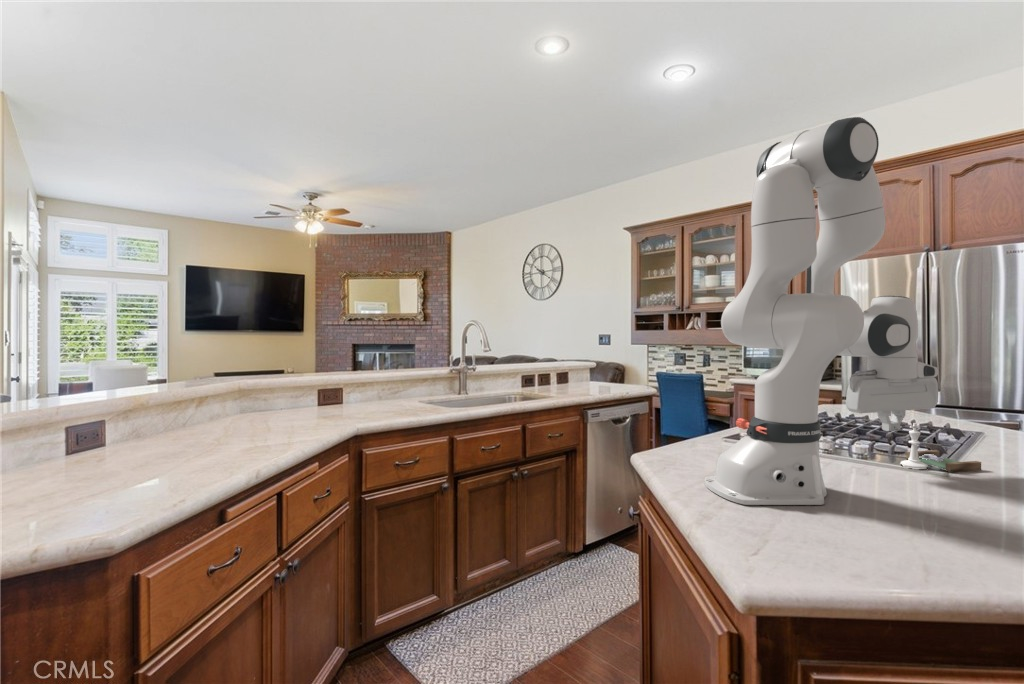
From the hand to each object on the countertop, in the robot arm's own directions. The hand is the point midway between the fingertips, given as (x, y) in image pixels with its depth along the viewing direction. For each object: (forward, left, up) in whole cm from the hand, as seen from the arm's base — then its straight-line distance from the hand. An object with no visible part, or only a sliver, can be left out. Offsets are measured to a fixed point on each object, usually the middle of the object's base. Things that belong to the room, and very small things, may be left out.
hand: (891, 430), depth 108 cm
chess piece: (+6, 0, -9) cm, 11 cm away
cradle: (+14, 0, -9) cm, 16 cm away
